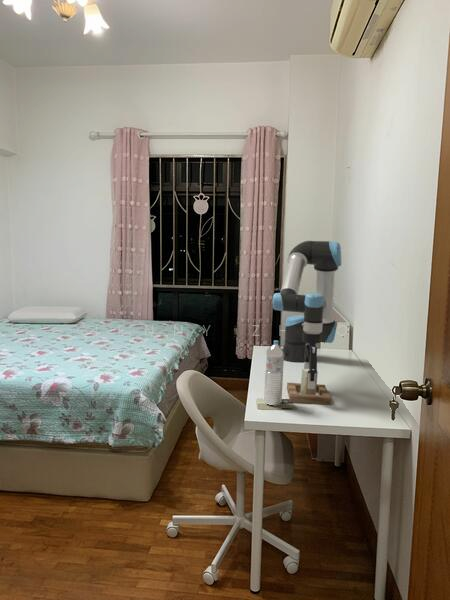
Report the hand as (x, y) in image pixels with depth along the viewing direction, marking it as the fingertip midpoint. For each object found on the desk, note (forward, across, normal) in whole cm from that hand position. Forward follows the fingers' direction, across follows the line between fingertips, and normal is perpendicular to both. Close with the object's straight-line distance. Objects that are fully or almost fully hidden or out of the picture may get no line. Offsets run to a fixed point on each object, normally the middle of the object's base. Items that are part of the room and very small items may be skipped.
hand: (308, 382), depth 176 cm
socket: (+6, 0, 0) cm, 6 cm away
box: (+6, 0, 0) cm, 6 cm away
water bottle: (+6, +10, -15) cm, 19 cm away
